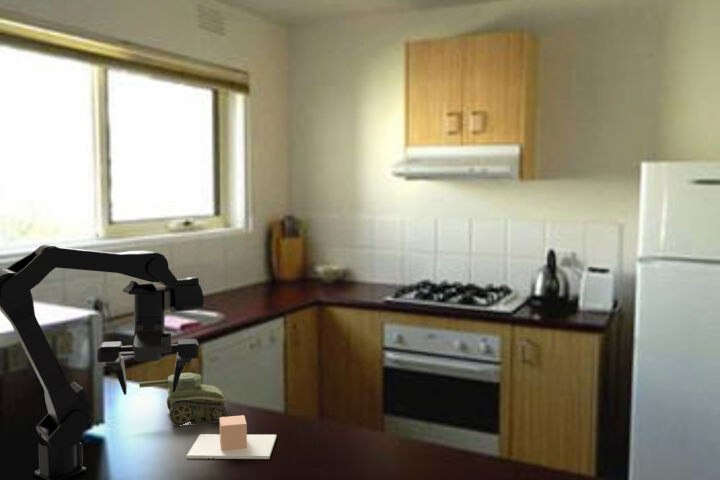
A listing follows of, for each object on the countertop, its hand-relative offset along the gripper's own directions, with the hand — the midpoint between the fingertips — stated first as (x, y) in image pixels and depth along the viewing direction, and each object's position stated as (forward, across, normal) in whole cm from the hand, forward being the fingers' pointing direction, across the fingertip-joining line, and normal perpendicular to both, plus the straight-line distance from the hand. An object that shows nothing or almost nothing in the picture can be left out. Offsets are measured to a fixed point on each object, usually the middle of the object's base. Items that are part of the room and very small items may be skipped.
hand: (149, 392), depth 133 cm
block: (+11, +16, -2) cm, 20 cm away
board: (+12, +16, -2) cm, 20 cm away
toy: (+12, +6, +18) cm, 22 cm away
